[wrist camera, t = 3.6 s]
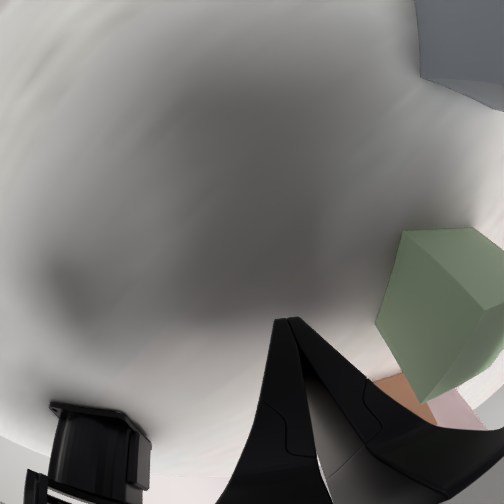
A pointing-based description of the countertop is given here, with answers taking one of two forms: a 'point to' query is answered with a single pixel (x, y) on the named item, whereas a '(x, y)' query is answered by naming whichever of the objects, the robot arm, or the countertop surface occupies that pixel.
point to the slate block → (463, 47)
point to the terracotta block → (405, 396)
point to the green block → (444, 308)
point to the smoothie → (454, 412)
